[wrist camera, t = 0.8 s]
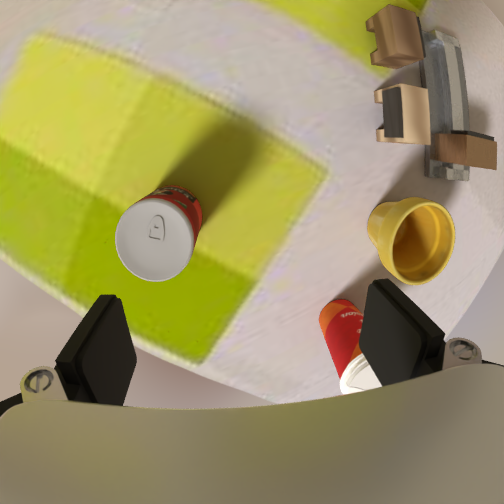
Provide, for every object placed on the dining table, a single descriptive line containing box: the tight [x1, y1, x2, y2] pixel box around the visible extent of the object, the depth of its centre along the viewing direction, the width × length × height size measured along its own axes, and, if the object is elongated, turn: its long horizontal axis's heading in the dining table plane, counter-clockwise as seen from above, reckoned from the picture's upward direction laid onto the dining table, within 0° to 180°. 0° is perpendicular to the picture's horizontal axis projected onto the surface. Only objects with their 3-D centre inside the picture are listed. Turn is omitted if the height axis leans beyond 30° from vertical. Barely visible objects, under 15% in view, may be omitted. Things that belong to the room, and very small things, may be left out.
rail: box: [419, 30, 497, 181], centre depth 29 cm, size 23×9×8 cm, turn 3°
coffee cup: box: [319, 299, 382, 394], centre depth 36 cm, size 8×8×15 cm
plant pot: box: [367, 197, 455, 285], centre depth 34 cm, size 10×10×10 cm
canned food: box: [115, 185, 202, 282], centre depth 31 cm, size 8×8×11 cm
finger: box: [366, 4, 426, 69], centre depth 27 cm, size 5×7×7 cm, turn 3°
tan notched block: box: [374, 83, 431, 145], centre depth 31 cm, size 5×7×7 cm, turn 3°
